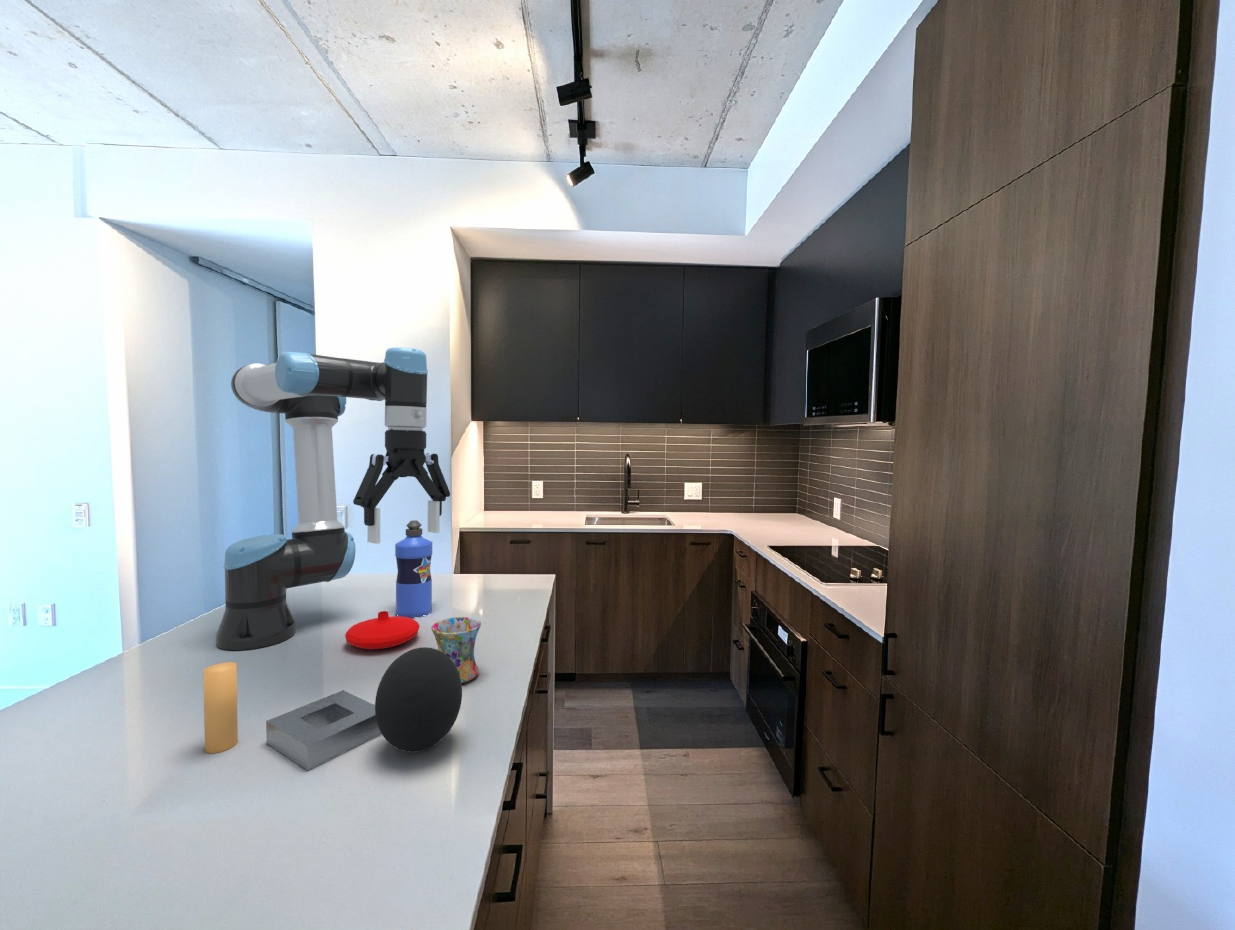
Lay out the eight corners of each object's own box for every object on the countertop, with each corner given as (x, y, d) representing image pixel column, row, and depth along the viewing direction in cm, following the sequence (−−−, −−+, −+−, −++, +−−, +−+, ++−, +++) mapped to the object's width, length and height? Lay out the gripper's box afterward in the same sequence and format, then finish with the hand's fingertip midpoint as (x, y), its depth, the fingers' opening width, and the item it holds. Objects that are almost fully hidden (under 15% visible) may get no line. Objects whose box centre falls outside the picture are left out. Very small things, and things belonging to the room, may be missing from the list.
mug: (484, 683, 100) (484, 629, 100) (433, 692, 97) (433, 635, 96) (475, 659, 111) (475, 610, 111) (429, 666, 108) (429, 615, 107)
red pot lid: (328, 649, 116) (328, 618, 115) (384, 626, 130) (384, 598, 130) (382, 661, 110) (381, 628, 110) (434, 636, 124) (434, 607, 124)
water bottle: (439, 609, 144) (439, 519, 143) (416, 620, 135) (416, 524, 134) (412, 605, 147) (411, 517, 146) (387, 615, 138) (387, 522, 137)
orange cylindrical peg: (200, 747, 78) (198, 669, 78) (230, 735, 82) (229, 660, 81) (211, 756, 76) (209, 676, 76) (242, 743, 80) (241, 666, 79)
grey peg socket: (266, 743, 80) (266, 720, 80) (343, 709, 90) (343, 690, 90) (307, 770, 73) (307, 746, 73) (385, 731, 83) (385, 710, 83)
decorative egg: (398, 723, 86) (397, 633, 85) (472, 725, 85) (472, 635, 85) (358, 770, 74) (357, 666, 73) (445, 773, 73) (445, 668, 73)
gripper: (357, 427, 89) (357, 550, 90) (468, 431, 110) (466, 530, 111) (331, 426, 93) (332, 545, 94) (443, 430, 114) (442, 526, 115)
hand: (405, 537), depth 103 cm, fingers open, 13 cm apart
